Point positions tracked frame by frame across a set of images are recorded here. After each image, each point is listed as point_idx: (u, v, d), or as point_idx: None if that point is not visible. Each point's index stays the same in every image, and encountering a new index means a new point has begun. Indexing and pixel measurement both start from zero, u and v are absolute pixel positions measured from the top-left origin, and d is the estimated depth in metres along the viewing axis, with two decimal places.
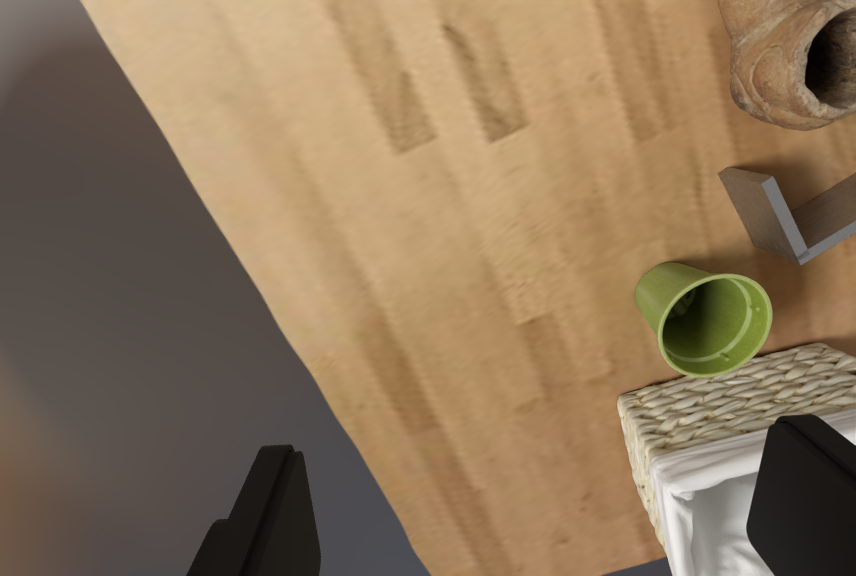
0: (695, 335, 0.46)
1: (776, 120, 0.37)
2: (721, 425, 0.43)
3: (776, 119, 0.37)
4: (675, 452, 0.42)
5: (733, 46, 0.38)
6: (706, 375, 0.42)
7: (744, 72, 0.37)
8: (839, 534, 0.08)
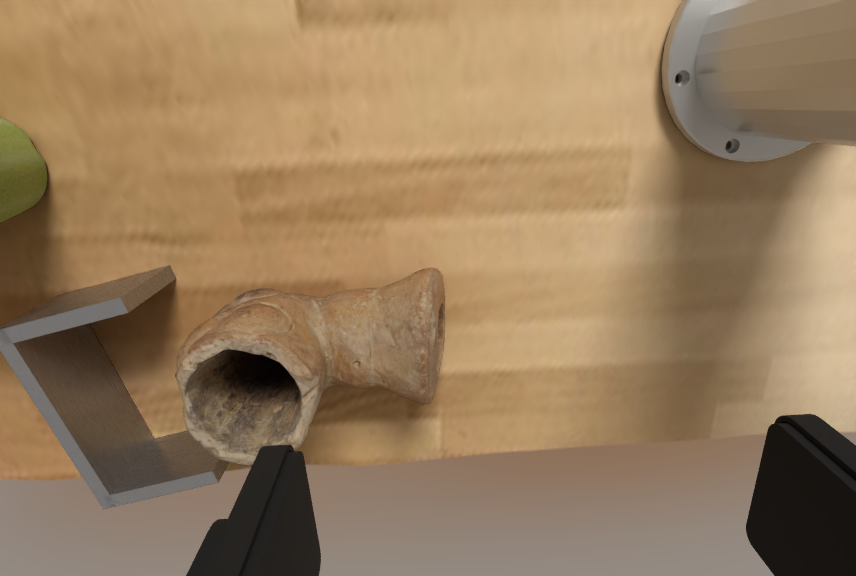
0: None
1: (203, 323, 0.29)
2: None
3: (203, 323, 0.28)
4: None
5: (315, 297, 0.32)
6: None
7: (277, 299, 0.30)
8: (839, 534, 0.08)
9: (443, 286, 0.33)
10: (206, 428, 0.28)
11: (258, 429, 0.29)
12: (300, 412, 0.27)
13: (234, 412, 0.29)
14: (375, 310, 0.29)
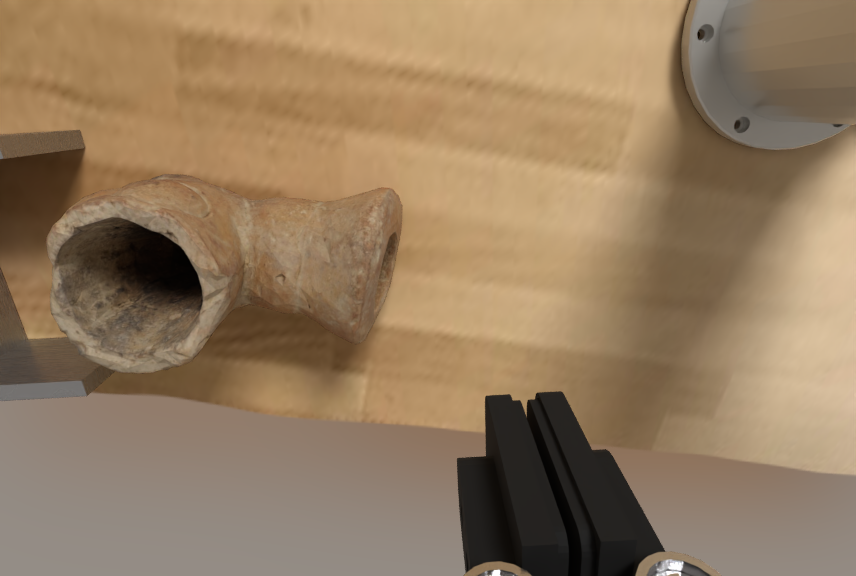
0: None
1: None
2: None
3: (101, 190, 0.23)
4: None
5: (249, 199, 0.27)
6: None
7: (200, 185, 0.25)
8: None
9: (401, 218, 0.29)
10: (76, 316, 0.22)
11: (145, 333, 0.24)
12: (198, 317, 0.22)
13: (119, 309, 0.24)
14: (315, 221, 0.25)
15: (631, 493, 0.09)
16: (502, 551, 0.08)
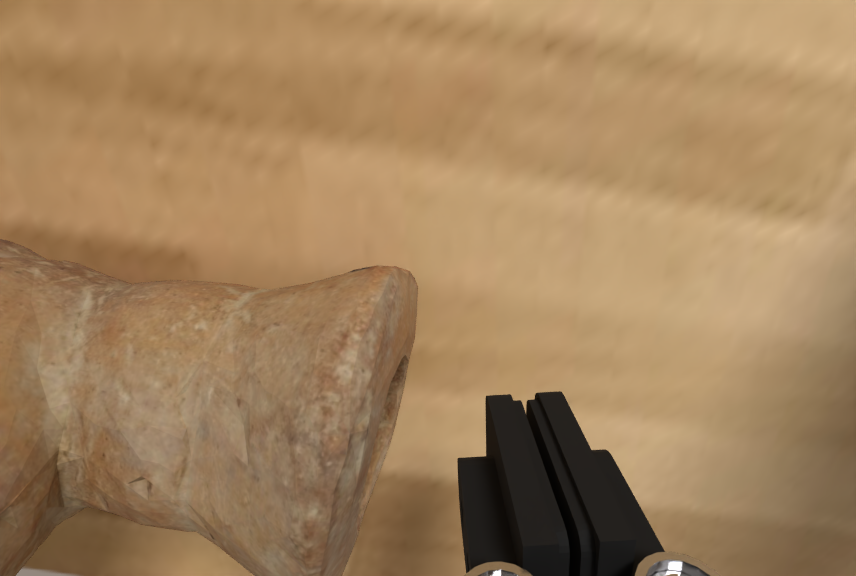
0: None
1: None
2: None
3: None
4: None
5: (109, 282, 0.13)
6: None
7: None
8: None
9: (415, 311, 0.15)
10: None
11: None
12: None
13: None
14: (224, 351, 0.11)
15: (630, 493, 0.09)
16: (503, 551, 0.08)
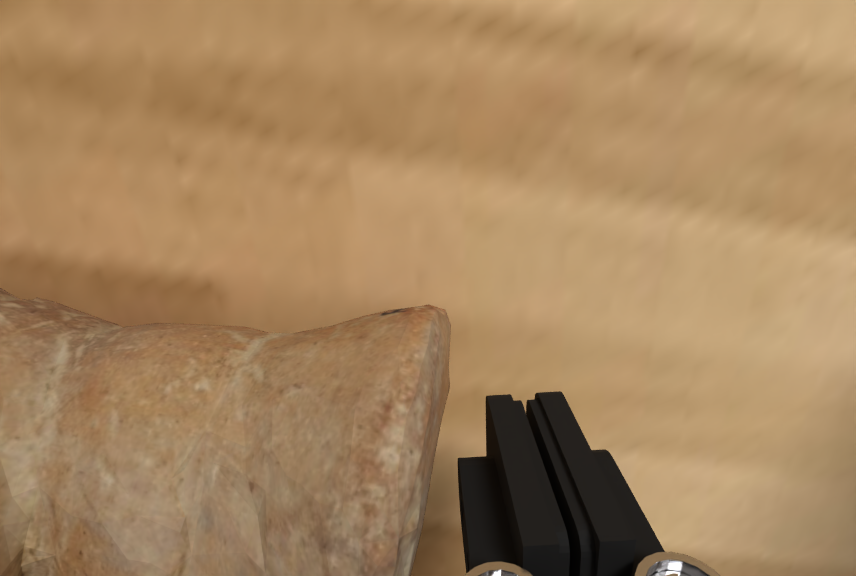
0: None
1: None
2: None
3: None
4: None
5: (90, 325, 0.11)
6: None
7: None
8: None
9: None
10: None
11: None
12: None
13: None
14: (231, 419, 0.09)
15: (630, 493, 0.09)
16: (503, 551, 0.08)
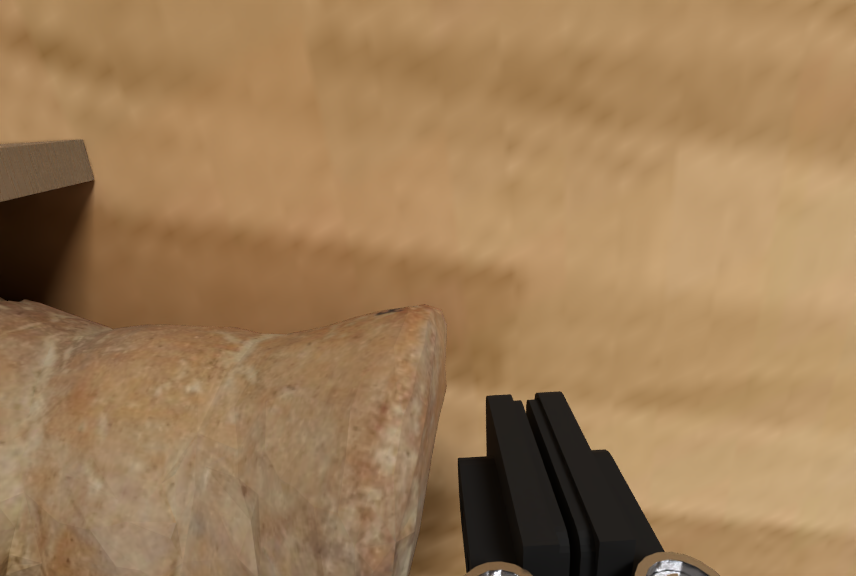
0: None
1: None
2: None
3: None
4: None
5: (79, 327, 0.11)
6: None
7: None
8: None
9: None
10: None
11: None
12: None
13: None
14: (224, 421, 0.09)
15: (630, 493, 0.09)
16: (503, 551, 0.08)
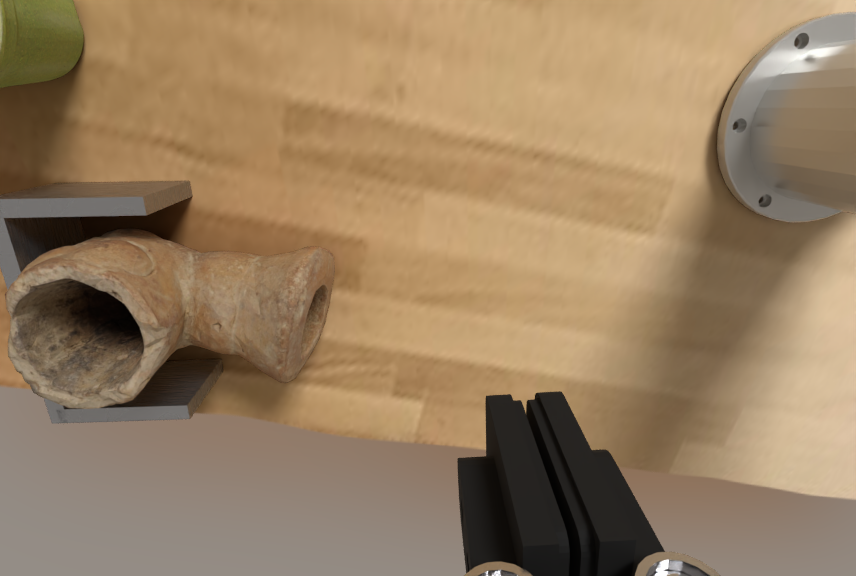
0: None
1: (57, 248, 0.26)
2: None
3: (57, 248, 0.26)
4: None
5: (195, 251, 0.31)
6: None
7: (148, 242, 0.28)
8: None
9: (333, 269, 0.32)
10: (31, 359, 0.25)
11: (93, 372, 0.27)
12: (140, 362, 0.26)
13: (71, 350, 0.27)
14: (250, 276, 0.28)
15: (630, 493, 0.09)
16: (503, 551, 0.08)
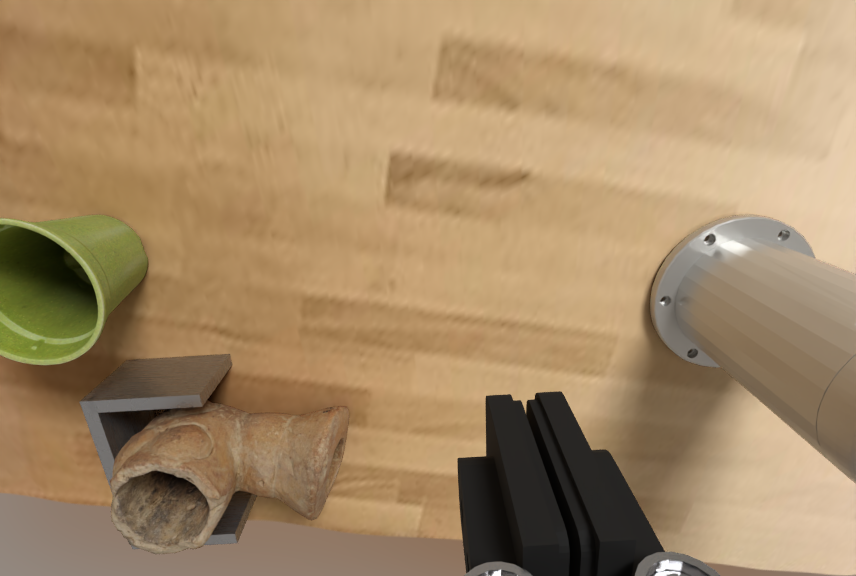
0: (22, 264, 0.33)
1: (141, 433, 0.35)
2: None
3: (141, 434, 0.35)
4: None
5: (240, 414, 0.39)
6: None
7: (206, 419, 0.37)
8: None
9: (347, 418, 0.41)
10: (128, 522, 0.34)
11: (171, 524, 0.36)
12: (206, 520, 0.34)
13: (153, 506, 0.36)
14: (284, 441, 0.37)
15: (630, 493, 0.09)
16: (503, 551, 0.08)
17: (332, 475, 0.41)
